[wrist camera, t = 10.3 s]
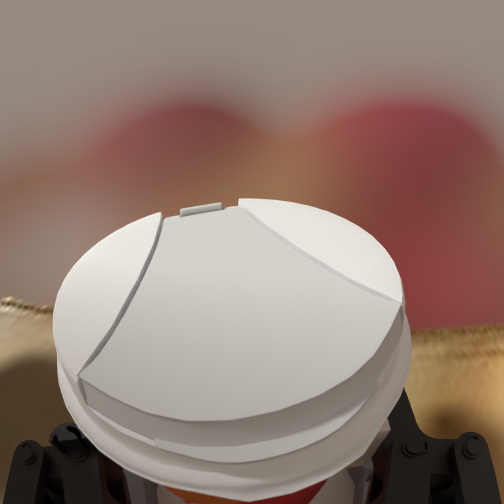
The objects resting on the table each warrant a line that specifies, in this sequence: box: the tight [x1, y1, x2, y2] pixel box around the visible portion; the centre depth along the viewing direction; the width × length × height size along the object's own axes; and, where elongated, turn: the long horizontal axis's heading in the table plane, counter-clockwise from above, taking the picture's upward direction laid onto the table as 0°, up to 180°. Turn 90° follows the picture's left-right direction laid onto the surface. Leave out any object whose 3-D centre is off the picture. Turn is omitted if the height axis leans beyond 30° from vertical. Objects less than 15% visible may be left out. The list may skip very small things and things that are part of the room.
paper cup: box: [53, 199, 412, 504], centre depth 10 cm, size 8×8×14 cm
